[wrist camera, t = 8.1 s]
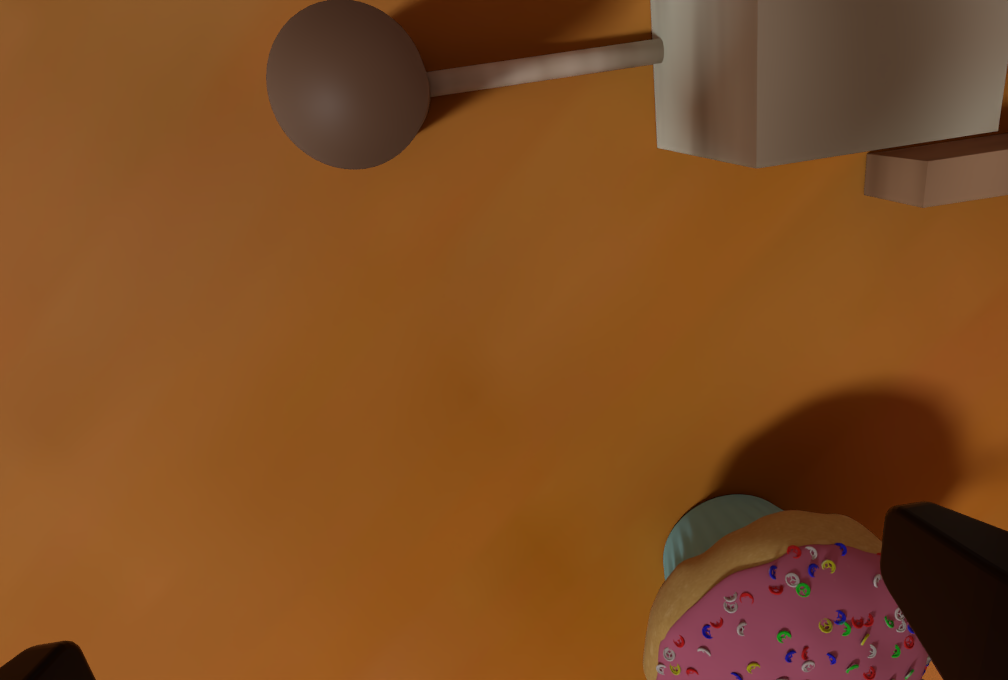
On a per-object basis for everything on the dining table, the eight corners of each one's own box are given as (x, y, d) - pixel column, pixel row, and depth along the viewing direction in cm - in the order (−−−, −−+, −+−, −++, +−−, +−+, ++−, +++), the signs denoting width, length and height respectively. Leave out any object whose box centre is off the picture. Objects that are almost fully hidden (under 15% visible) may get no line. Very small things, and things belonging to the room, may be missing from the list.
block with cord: (835, -80, 16) (1040, -173, 11) (825, 121, 18) (998, 130, 13) (301, -6, 16) (226, -65, 10) (346, 195, 18) (304, 238, 12)
